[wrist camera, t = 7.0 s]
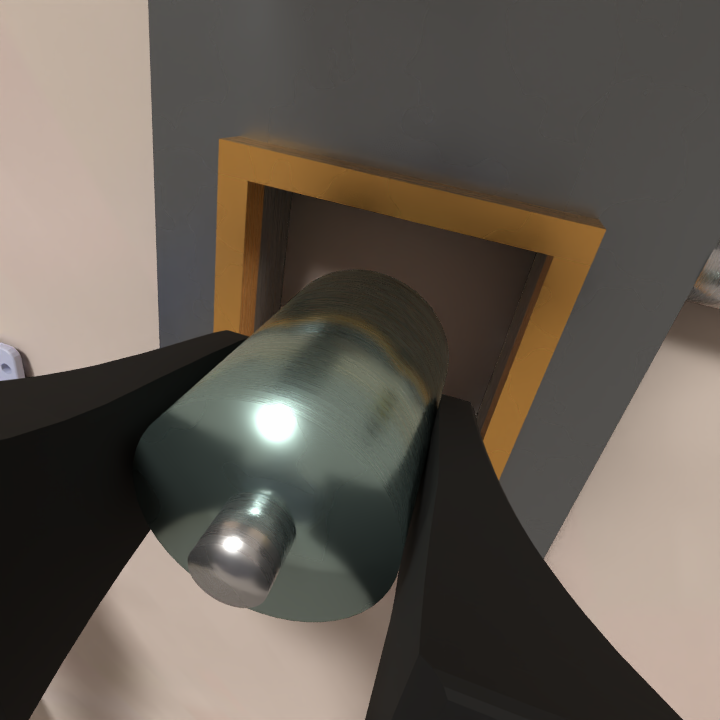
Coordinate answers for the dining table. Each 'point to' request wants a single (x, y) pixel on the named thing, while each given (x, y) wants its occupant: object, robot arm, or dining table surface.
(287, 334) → the spout can
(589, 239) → the grey square hole board
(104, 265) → the dining table surface
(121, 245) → the dining table surface
